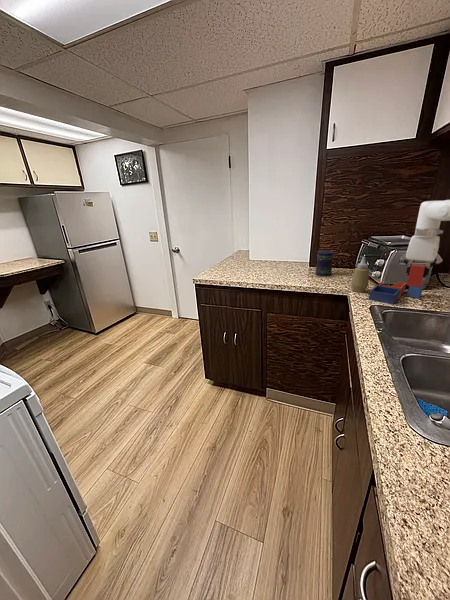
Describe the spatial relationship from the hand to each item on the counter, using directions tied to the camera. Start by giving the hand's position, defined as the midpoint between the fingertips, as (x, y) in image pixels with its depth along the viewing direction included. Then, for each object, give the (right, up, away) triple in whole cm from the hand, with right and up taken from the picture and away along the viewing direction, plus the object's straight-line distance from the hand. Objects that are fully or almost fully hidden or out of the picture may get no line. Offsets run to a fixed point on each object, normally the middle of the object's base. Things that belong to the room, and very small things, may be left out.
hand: (416, 275), depth 108 cm
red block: (0, -4, +1) cm, 4 cm away
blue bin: (-7, -10, +12) cm, 17 cm away
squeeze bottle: (-12, -6, +24) cm, 28 cm away
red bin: (+2, -6, +20) cm, 21 cm away
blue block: (+9, -9, +13) cm, 19 cm away
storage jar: (-19, +6, +55) cm, 58 cm away
